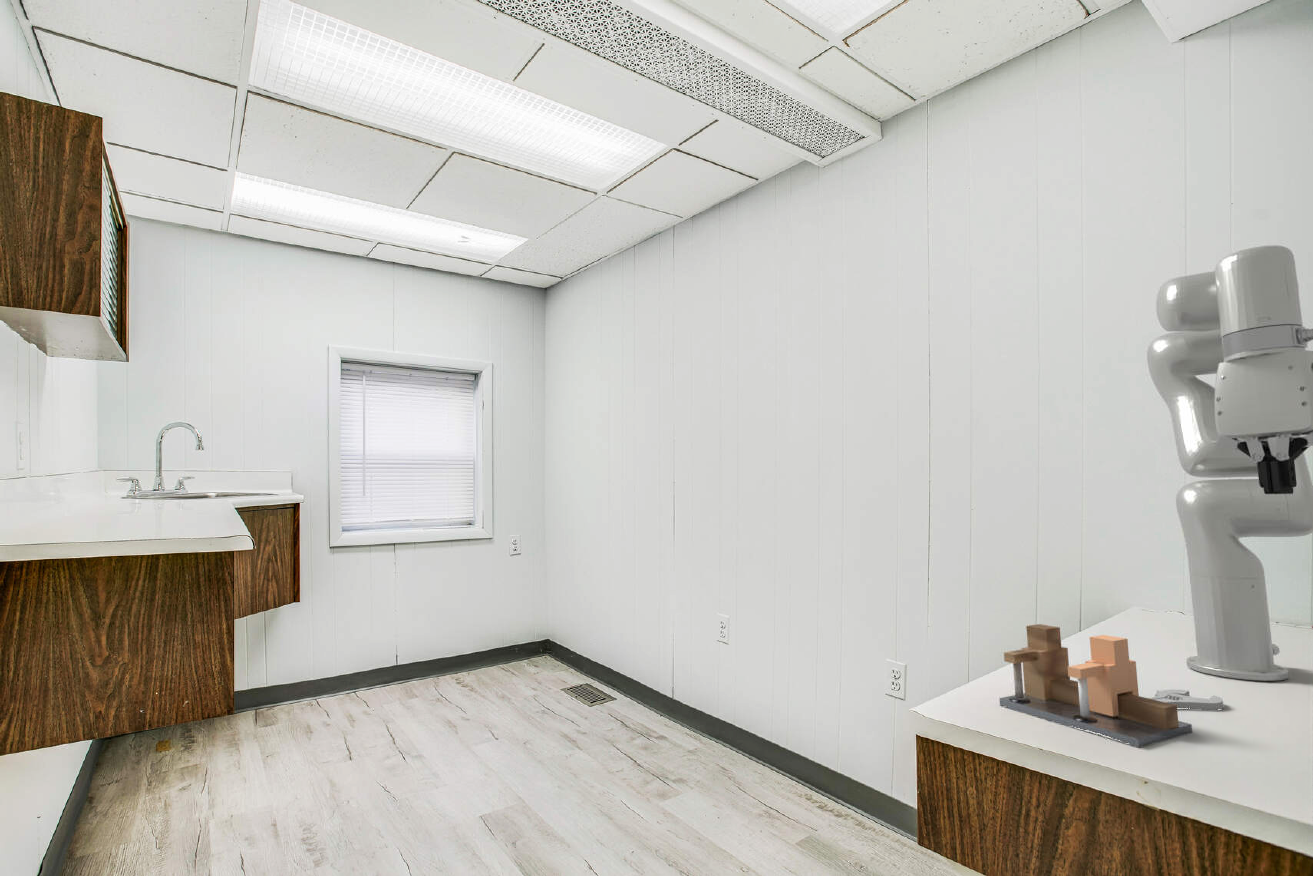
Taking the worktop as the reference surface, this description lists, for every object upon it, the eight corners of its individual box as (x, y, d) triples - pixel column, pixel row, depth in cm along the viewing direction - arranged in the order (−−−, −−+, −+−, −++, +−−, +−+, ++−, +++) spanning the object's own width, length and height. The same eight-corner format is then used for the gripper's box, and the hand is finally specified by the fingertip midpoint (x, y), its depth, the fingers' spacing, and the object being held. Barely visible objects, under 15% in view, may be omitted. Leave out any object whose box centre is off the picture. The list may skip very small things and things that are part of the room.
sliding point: (1115, 703, 87) (1109, 633, 88) (1139, 710, 85) (1133, 637, 86) (1066, 715, 83) (1060, 641, 84) (1089, 722, 80) (1083, 645, 81)
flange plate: (1051, 695, 96) (1050, 687, 96) (1192, 732, 80) (1191, 723, 80) (999, 705, 92) (999, 697, 92) (1138, 747, 75) (1137, 738, 76)
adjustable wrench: (1071, 727, 85) (1070, 713, 85) (1035, 711, 91) (1034, 698, 91) (1233, 713, 89) (1232, 700, 89) (1188, 699, 95) (1187, 686, 95)
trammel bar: (1049, 688, 96) (1044, 623, 97) (1186, 724, 80) (1178, 645, 81) (1001, 698, 92) (996, 629, 93) (1135, 738, 76) (1128, 654, 77)
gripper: (1359, 335, 76) (1379, 492, 75) (1208, 361, 90) (1222, 495, 88) (1328, 329, 73) (1348, 492, 71) (1177, 357, 87) (1191, 495, 85)
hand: (1278, 493), depth 80 cm, fingers closed
